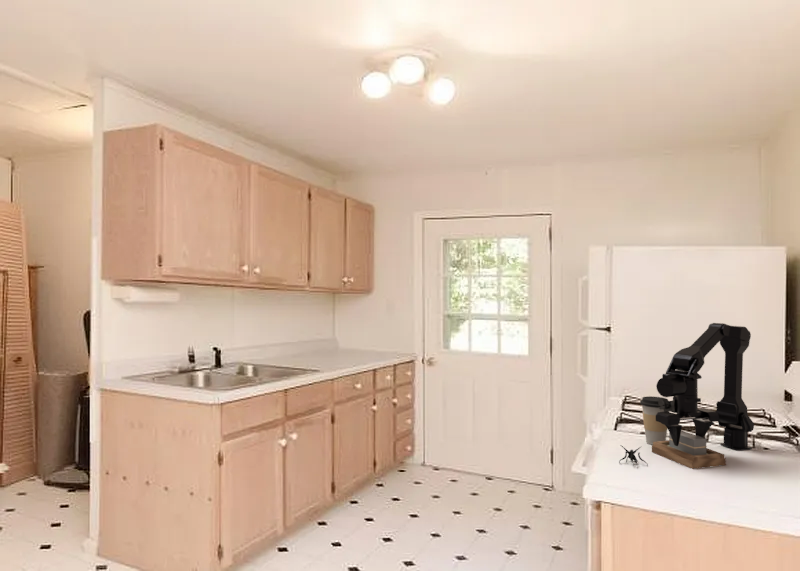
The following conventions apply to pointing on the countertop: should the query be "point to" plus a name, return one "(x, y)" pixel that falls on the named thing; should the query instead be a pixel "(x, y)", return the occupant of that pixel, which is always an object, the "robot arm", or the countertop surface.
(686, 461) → the wooden picture frame
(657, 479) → the countertop surface
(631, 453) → the creature
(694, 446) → the glasses case
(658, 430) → the coffee cup
